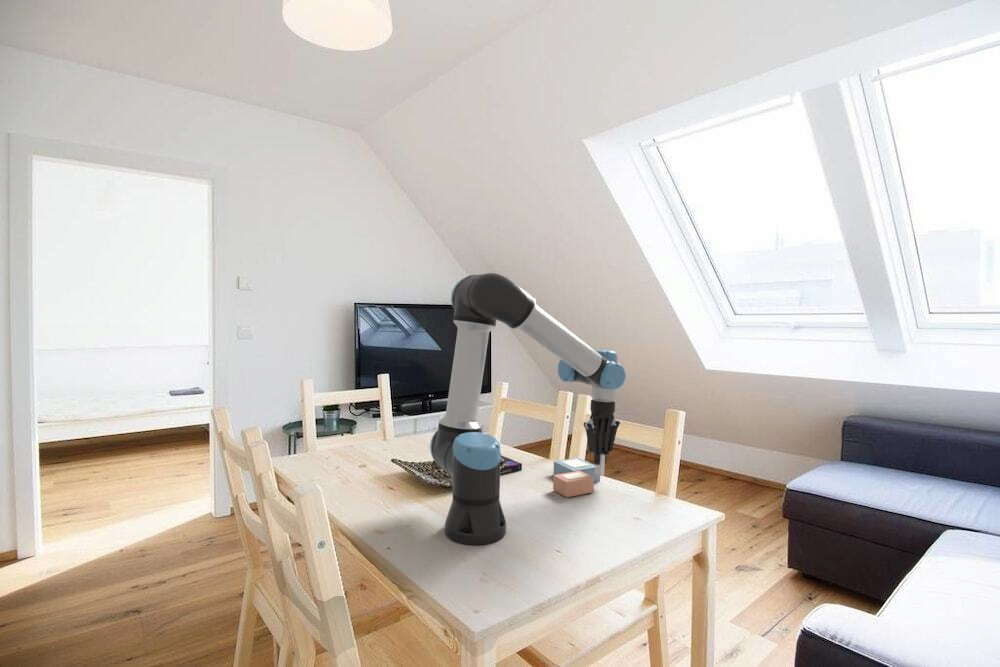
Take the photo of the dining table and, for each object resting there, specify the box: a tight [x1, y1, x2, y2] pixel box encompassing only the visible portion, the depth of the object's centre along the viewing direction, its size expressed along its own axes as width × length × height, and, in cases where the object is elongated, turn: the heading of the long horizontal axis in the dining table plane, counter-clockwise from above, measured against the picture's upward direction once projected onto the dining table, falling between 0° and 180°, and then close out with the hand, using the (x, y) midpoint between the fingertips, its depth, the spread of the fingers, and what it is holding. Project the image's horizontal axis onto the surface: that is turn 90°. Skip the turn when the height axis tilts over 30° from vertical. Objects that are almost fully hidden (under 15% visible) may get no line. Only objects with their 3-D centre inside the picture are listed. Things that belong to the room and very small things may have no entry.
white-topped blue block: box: [552, 457, 601, 483], centre depth 165 cm, size 12×10×5 cm
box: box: [500, 454, 523, 477], centre depth 171 cm, size 14×4×20 cm
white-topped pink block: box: [552, 471, 595, 498], centre depth 152 cm, size 7×10×5 cm
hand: (599, 474), depth 157 cm, fingers closed
